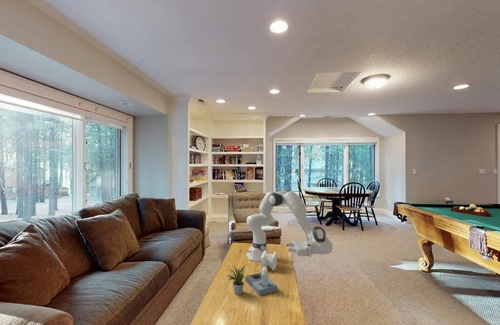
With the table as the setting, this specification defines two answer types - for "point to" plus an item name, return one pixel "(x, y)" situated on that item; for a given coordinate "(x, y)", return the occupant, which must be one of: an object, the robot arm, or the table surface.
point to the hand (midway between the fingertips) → (287, 247)
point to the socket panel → (260, 284)
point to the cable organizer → (269, 260)
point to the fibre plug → (264, 277)
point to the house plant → (237, 280)
